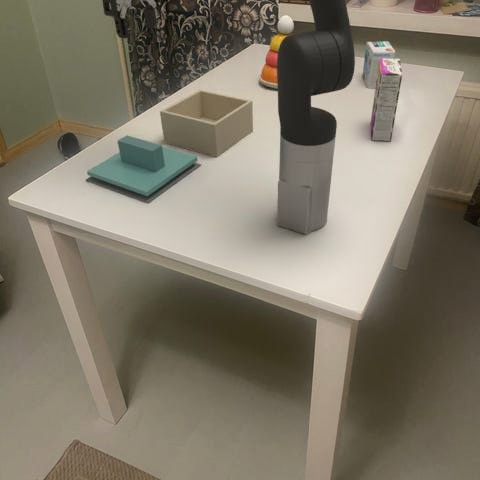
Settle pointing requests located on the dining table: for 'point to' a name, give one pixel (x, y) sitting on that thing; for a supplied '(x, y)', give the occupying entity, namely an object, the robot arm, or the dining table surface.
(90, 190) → the dining table surface
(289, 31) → the stacking toy
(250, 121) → the storage box
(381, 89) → the candy bar box
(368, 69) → the light bulb box
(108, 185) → the rubber mat
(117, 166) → the lid
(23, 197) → the dining table surface
